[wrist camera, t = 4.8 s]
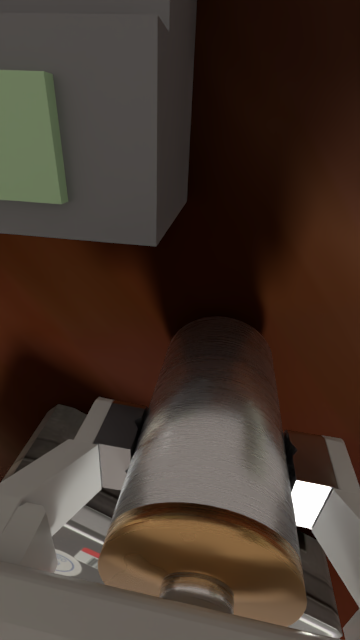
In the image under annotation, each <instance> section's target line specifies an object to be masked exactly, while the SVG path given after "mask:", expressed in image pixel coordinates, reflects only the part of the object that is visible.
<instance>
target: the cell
mask: <svg viewBox="0 0 360 640" xmlns="http://www.w3.org/2000/svg"><path fill="white" fill-rule="evenodd" d="M98 571H99V575H100V577H101V579H102V581H103V582H104V583H105V585H108V586H112V587H117V588H121V589H125V590H130V591H134V592H138V593H143V594H147V595H151V596H156V597H160V598H164V599H169V600H173V601H177V602H182V603H186V604H190V605H195V606H199V607H203V608H208V609H212V610H216V611H221V612H225V613H229V614H233V615H238V616H242V617H246V618H251V619H255V620H259V621H264V622H268V623H272V624H277V625H281V626H285V627H288V626H290V625H292V624H293V623H295V622H296V621H297V620H299V619H300V617H301V616H302V615H303V614H304V612H305V610H306V606H307V598H306V591H305V584H304V577H303V570H302V563H301V556H300V549H299V542H298V535H297V528H296V521H295V514H294V507H293V500H292V493H291V486H290V479H289V472H288V465H287V458H286V451H285V444H284V437H283V430H282V423H281V416H280V409H279V402H278V395H277V388H276V381H275V374H274V367H273V360H272V353H271V350H270V347H269V345H268V343H267V341H266V340H265V339H264V337H263V336H262V335H261V334H260V333H259V332H258V331H257V330H256V329H254V328H253V327H252V326H250V325H248V324H247V323H244V322H242V321H240V320H237V319H234V318H229V317H221V316H213V317H205V318H201V319H197V320H195V321H192V322H190V323H188V324H187V325H185V326H184V327H182V328H181V329H180V330H179V331H178V332H177V333H176V334H175V335H174V337H173V338H172V340H171V342H170V344H169V348H168V351H167V354H166V357H165V360H164V363H163V366H162V369H161V372H160V375H159V378H158V381H157V384H156V387H155V390H154V393H153V396H152V399H151V402H150V405H149V408H148V411H147V414H146V417H145V420H144V423H143V426H142V429H141V432H140V435H139V438H138V441H137V444H136V447H135V450H134V453H133V456H132V459H131V462H130V465H129V468H128V471H127V474H126V477H125V480H124V484H123V487H122V490H121V493H120V496H119V499H118V502H117V505H116V508H115V511H114V514H113V517H112V520H111V523H110V526H109V529H108V532H107V535H106V538H105V541H104V544H103V547H102V550H101V553H100V556H99V559H98Z"/></svg>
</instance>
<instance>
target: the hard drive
mask: <svg viewBox="0 0 360 640" xmlns="http://www.w3.org/2000/svg"><path fill="white" fill-rule="evenodd" d="M86 416H87V415H86V414H84V413H82V412H81V411H79V410H77V409H75V408H72V407H68V406H64V405H60V404H58V405H56V406H55V407H54V408H52V409H51V410H49V411H48V412H47V414H46V415H45V417H44V418H43V420H42V421H41V423H40V424H39V426H38V427H37V429H36V430H35V432H34V433H33V435H32V436H31V438H30V439H29V441H28V442H27V444H26V445H25V447H24V448H23V450H22V451H21V453H20V454H19V456H18V457H17V459H16V460H15V462H14V463H13V465H12V466H11V468H10V469H9V471H8V472H7V474H6V475H5V477H4V478H3V480H2V481H4V480H5V479H7V478H8V477H10V476H12V475H13V474H15V473H16V472H18V471H19V470H21V469H23V468H24V467H26V466H27V465H29V464H30V463H32V462H34V461H35V460H37V459H38V458H40V457H41V456H43V455H44V454H46V453H48V452H49V451H51V450H52V449H54V448H55V447H57V446H59V445H60V444H62V443H63V442H65V441H66V440H68V439H71V440H74V438H75V436H76V435H77V433H78V431H79V429H80V427H81V425H82V424H83V422H84V420H85V418H86ZM2 481H1V482H2ZM101 488H102V489H101V490H100V491H99V492H98V493H97V494H96V495H95V496H94V497H93V498H92V499H91V500H90V501H89V502H88V503H87V504H86V505H84V506H83V507H82V508H81V509H80V510H79V511H78V512H77V513H76V514H75V515H74V516H73V517H72V518H71V519H70V520H69V521H68V522H67V523H66V524H65V525H64V526H62V527H61V528H60V529H59V530H58V531H57V532H56V533H55V534H54V535H53V536H52V540H53V544H54V548H55V552H56V556H57V561H58V565H57V567H56V570H55V572H54V573H56V574H61V575H65V576H69V577H74V578H78V579H82V580H87V581H91V582H95V583H100V584H104V585H105V583H104V582H103V581H102V579H101V577H100V575H99V571H98V559H99V556H100V553H101V550H102V547H103V544H104V541H105V538H106V535H107V532H108V529H109V526H110V523H111V520H112V517H113V514H114V511H115V508H116V505H117V502H118V499H119V496H120V493H121V490H115V489H110V488H104V487H101ZM297 535H298V542H299V549H300V556H301V563H302V570H303V577H304V584H305V591H306V598H307V606H306V610H305V612H304V614H303V615H302V616H301V617H300V619H299V620H297V621H296V622H295V623H293V624H292V625H290V626H288V627H290V628H294V629H298V630H303V631H307V632H311V633H316V634H320V635H324V636H329V637H333V638H337V639H338V638H340V637H342V636H343V634H342V630H341V625H340V620H339V616H338V611H337V607H336V602H335V597H334V593H333V588H332V583H331V579H330V574H329V570H328V565H327V560H326V556H325V552H324V550H323V549H322V547H321V545H320V544H319V542H318V541H317V540H315V539H314V538H312V537H310V536H308V535H306V534H304V533H303V532H301V531H299V530H297Z"/></svg>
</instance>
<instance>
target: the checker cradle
mask: <svg viewBox="0 0 360 640" xmlns="http://www.w3.org/2000/svg"><path fill="white" fill-rule="evenodd" d="M196 11H197V0H0V233H5V234H16V235H28V236H39V237H51V238H63V239H74V240H86V241H97V242H109V243H121V244H132V245H144V246H155V247H156V246H157V245H158V243H159V242H160V240H161V239H162V237H163V236H164V234H165V233H166V232H167V230H168V229H169V227H170V226H171V224H172V223H173V221H174V220H175V218H176V217H177V215H178V214H179V212H180V211H181V209H182V208H183V207H184V205H185V204H186V202H187V189H188V169H189V149H190V130H191V110H192V90H193V70H194V51H195V31H196Z"/></svg>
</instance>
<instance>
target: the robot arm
mask: <svg viewBox="0 0 360 640" xmlns="http://www.w3.org/2000/svg"><path fill="white" fill-rule="evenodd" d="M147 411H148V407H147V406H144V405H139V404H134V403H128V402H123V401H118V400H112V399H107V398H102V397H98V398H97V399H96V400H95V401H94V403H93V405H92V407H91V409H90V411H89V412H88V414H87V416H86V418H85V420H84V422H83V424H82V425H81V427H80V429H79V431H78V433H77V435H76V436H75V438H74V440H71V439H68V440H66V441H65V442H63V443H62V444H60V445H59V446H57V447H55V448H54V449H52V450H51V451H49V452H48V453H46V454H44V455H43V456H41V457H40V458H38V459H37V460H35V461H34V462H32V463H30V464H29V465H27V466H26V467H24V468H23V469H21V470H19V471H18V472H16V473H15V474H13V475H12V476H10V477H8V478H7V479H5V480H4V481H2V482H1V483H0V640H341V639H337V638H333V637H329V636H324V635H320V634H316V633H311V632H307V631H303V630H298V629H294V628H290V627H285V626H281V625H277V624H272V623H268V622H264V621H259V620H255V619H251V618H246V617H242V616H238V615H233V614H229V613H225V612H221V611H216V610H212V609H208V608H203V607H199V606H195V605H190V604H186V603H182V602H177V601H173V600H169V599H164V598H160V597H156V596H151V595H147V594H143V593H138V592H134V591H130V590H125V589H121V588H117V587H112V586H108V585H104V584H100V583H95V582H91V581H87V580H82V579H78V578H74V577H69V576H65V575H61V574H56V573H54V572H55V570H56V567H57V565H58V561H57V556H56V552H55V548H54V544H53V540H52V536H53V535H54V534H55V533H56V532H57V531H58V530H59V529H60V528H61V527H62V526H64V525H65V524H66V523H67V522H68V521H69V520H70V519H71V518H72V517H73V516H74V515H75V514H76V513H77V512H78V511H79V510H80V509H81V508H82V507H83V506H84V505H86V504H87V503H88V502H89V501H90V500H91V499H92V498H93V497H94V496H95V495H96V494H97V493H98V492H99V491H100V490H101V489H102V488H101V487H104V488H110V489H115V490H122V487H123V484H124V480H125V477H126V474H127V471H128V468H129V465H130V462H131V459H132V456H133V453H134V450H135V447H136V444H137V441H138V438H139V435H140V432H141V429H142V426H143V423H144V420H145V417H146V414H147ZM283 437H284V444H285V451H286V458H287V465H288V472H289V479H290V486H291V493H292V500H293V507H294V514H295V521H296V526H300V527H304V528H309V529H312V532H313V534H314V536H315V537H316V539H317V540H318V542H319V544H320V545H321V547H322V549H323V550H324V552H325V553H326V555H327V557H328V558H329V560H330V561H331V563H332V565H333V566H334V568H335V569H336V571H337V573H338V574H339V576H340V577H341V579H342V581H343V582H344V584H345V585H346V587H347V589H348V590H349V592H350V593H351V595H352V597H353V598H354V600H355V601H356V603H357V605H358V606H359V610H358V611H357V612H356V613H355V614H354V616H353V617H352V618H351V619H350V620H349V621H348V623H347V624H346V625H345V626H344V627H343V630H344V635H345V640H360V487H359V484H358V481H357V478H356V475H355V472H354V469H353V467H352V464H351V461H350V458H349V455H348V452H347V449H346V446H345V443H344V441H343V440H342V439H340V438H334V437H328V436H321V435H316V434H310V433H304V432H298V431H291V430H285V432H284V433H283Z"/></svg>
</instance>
